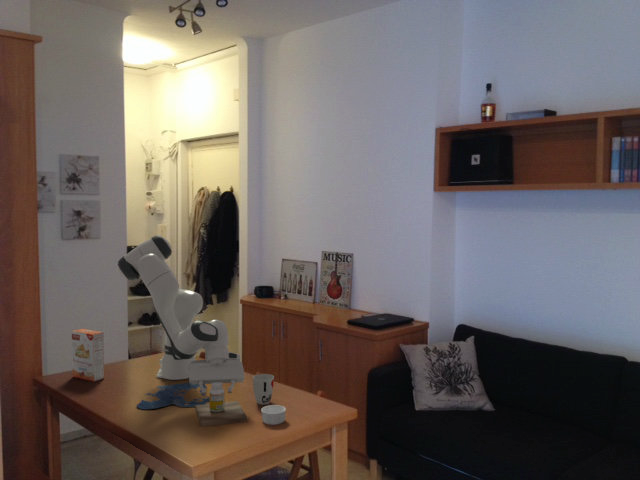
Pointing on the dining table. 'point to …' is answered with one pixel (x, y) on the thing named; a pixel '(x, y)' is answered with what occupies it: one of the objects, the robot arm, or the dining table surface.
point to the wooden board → (221, 414)
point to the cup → (263, 388)
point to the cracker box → (88, 354)
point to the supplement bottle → (217, 397)
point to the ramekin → (273, 414)
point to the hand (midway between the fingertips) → (217, 393)
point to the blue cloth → (173, 397)
